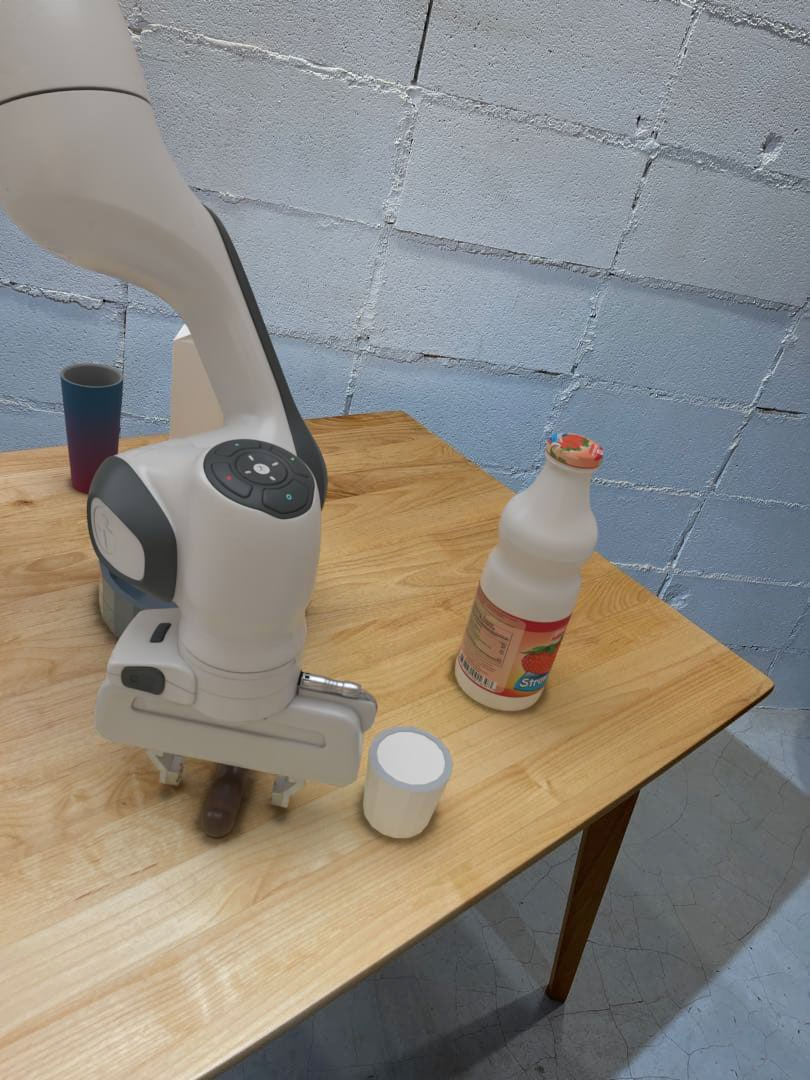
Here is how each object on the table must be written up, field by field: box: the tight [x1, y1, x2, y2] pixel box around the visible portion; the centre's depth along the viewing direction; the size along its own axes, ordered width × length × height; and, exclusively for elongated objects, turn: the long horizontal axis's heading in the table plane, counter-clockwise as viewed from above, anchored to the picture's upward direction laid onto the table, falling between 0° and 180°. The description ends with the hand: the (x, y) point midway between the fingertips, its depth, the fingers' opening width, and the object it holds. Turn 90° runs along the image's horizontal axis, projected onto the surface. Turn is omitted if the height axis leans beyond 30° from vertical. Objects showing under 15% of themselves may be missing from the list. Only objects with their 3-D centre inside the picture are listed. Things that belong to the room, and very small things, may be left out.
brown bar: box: [200, 763, 252, 838], centre depth 68 cm, size 13×3×3 cm, turn 175°
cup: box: [59, 362, 125, 495], centre depth 97 cm, size 7×7×15 cm
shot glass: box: [362, 725, 454, 839], centre depth 67 cm, size 7×7×7 cm
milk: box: [168, 323, 224, 440], centre depth 103 cm, size 6×6×22 cm
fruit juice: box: [454, 431, 604, 712], centre depth 78 cm, size 9×9×28 cm
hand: (226, 789), depth 66 cm, fingers open, 7 cm apart
